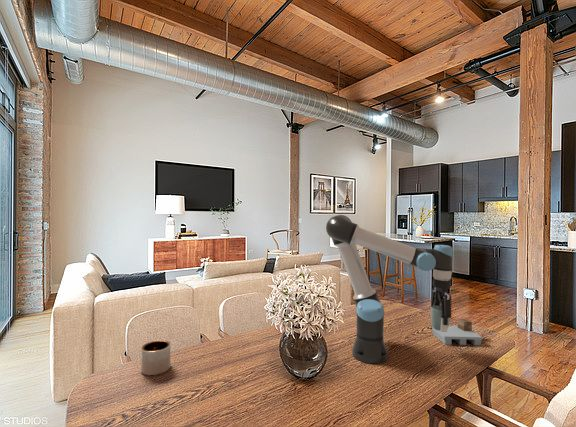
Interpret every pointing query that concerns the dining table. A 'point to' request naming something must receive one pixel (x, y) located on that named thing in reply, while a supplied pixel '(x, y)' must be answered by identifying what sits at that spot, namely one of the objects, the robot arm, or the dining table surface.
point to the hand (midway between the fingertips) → (439, 327)
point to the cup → (436, 317)
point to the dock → (457, 336)
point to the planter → (155, 357)
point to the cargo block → (464, 324)
